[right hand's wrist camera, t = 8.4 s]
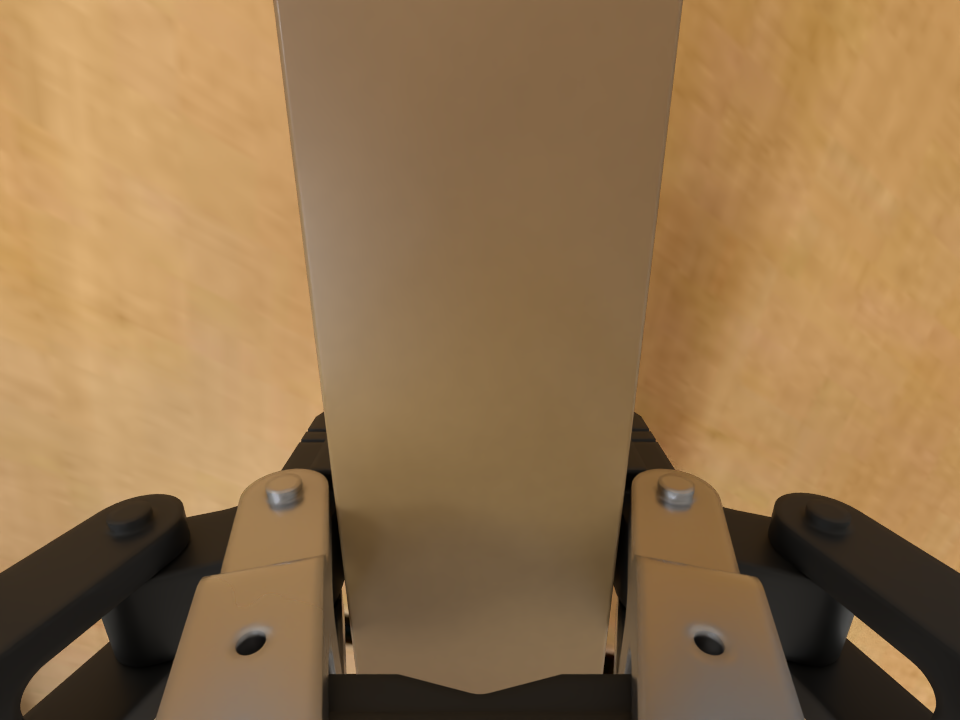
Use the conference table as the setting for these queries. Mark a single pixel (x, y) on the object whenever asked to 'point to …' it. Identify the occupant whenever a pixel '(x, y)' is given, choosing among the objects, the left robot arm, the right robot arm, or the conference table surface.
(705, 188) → the conference table surface
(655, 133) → the beam
